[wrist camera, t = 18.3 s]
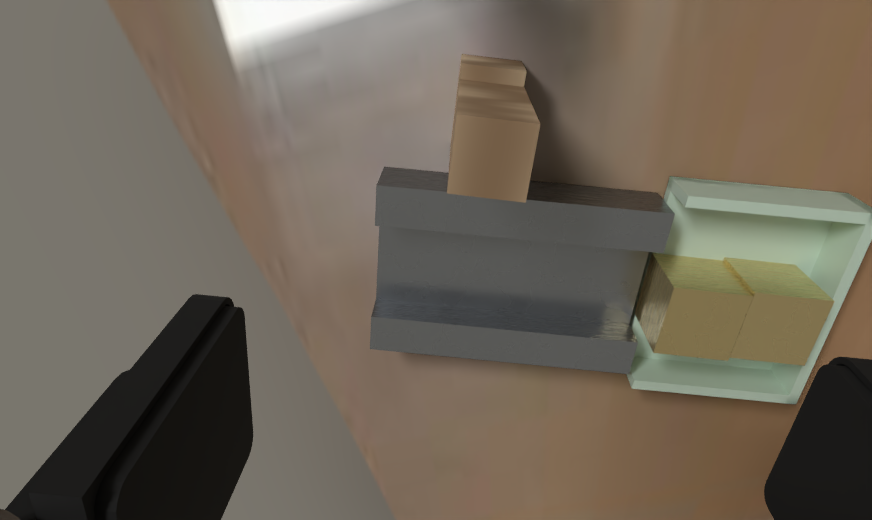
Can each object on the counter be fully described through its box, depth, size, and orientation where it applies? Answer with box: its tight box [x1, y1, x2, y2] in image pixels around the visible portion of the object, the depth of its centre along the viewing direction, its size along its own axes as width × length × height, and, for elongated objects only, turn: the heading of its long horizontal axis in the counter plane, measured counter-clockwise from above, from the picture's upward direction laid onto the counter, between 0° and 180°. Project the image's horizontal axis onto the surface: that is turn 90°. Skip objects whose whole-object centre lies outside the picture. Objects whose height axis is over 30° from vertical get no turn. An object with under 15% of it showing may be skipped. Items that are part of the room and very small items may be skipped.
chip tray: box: [626, 176, 872, 404], centre depth 33 cm, size 10×12×3 cm
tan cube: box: [635, 253, 753, 361], centre depth 32 cm, size 4×4×4 cm
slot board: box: [370, 167, 675, 374], centre depth 33 cm, size 15×10×3 cm, turn 85°
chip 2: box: [723, 257, 835, 366], centre depth 32 cm, size 4×4×4 cm
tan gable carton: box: [447, 54, 540, 203], centre depth 26 cm, size 3×4×10 cm
